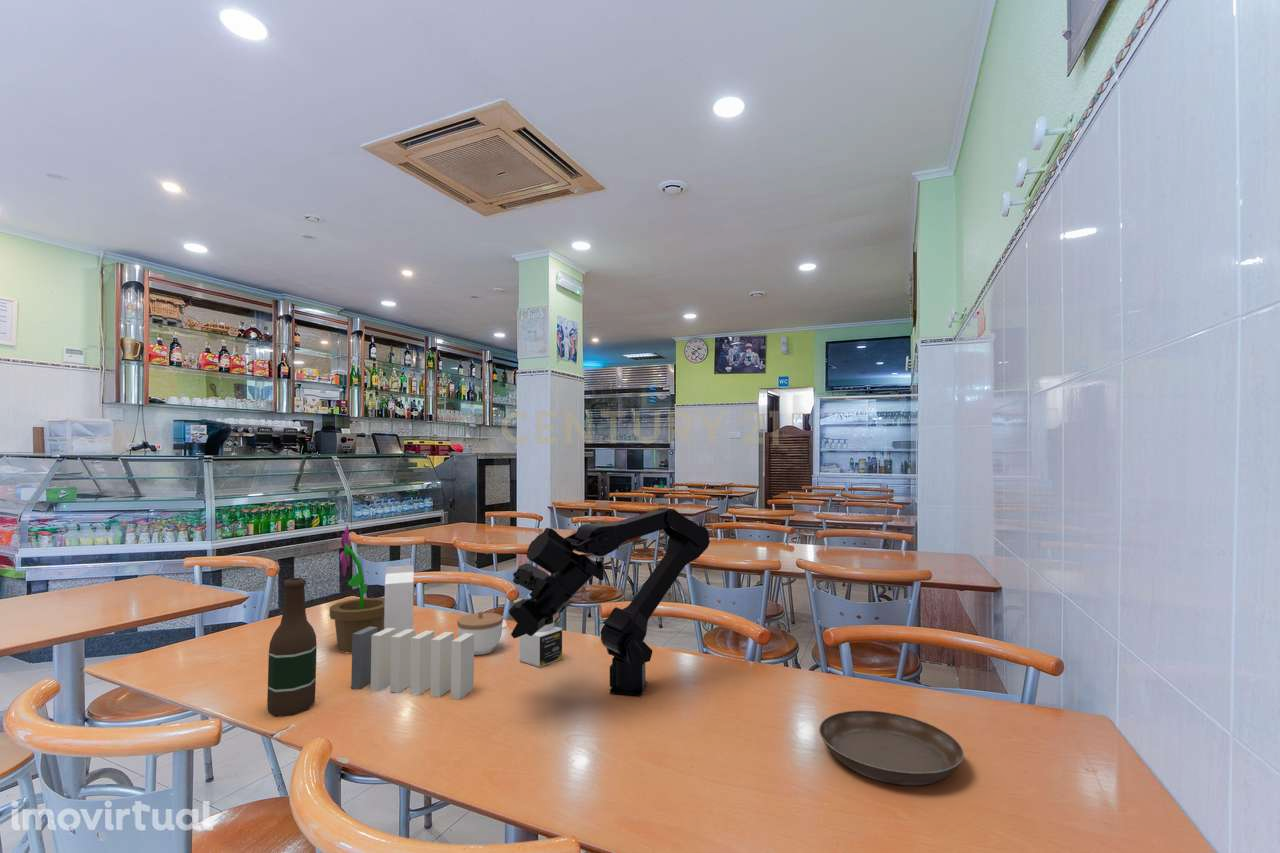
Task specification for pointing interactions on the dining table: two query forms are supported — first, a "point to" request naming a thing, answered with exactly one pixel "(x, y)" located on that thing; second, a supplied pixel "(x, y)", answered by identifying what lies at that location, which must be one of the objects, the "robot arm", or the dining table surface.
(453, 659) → the domino
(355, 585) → the flowerpot
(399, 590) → the milk
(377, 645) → the domino
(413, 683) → the domino
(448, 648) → the domino
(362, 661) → the domino
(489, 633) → the lidded jar
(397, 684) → the domino
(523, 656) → the medicine bottle
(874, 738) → the plant saucer
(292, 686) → the beer bottle
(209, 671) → the dining table surface
